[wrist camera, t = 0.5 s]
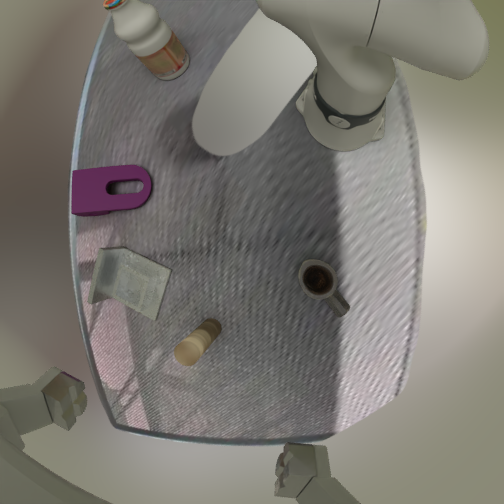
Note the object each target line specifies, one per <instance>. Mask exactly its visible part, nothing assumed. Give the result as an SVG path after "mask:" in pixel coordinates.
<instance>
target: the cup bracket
mask: <svg viewBox="0 0 504 504" xmlns="http://www.w3.org/2000/svg"><path fill="white" fill-rule="evenodd" d="M171 273H172V269H170V268H168V267H166V266H164V265H162V264H159V263H157V262H155V261H153V260H151V259H149V258H147V257H145V256H142V255H140V254H138V253H136V252H134V251H132V250H130V249H128V248H126V247H124V246H123V247H107V248H99V252H98V256H97V260H96V264H95V268H94V273H93V277H92V282H91V286H90V291H89V296H88V301H87V302H89V303H90V304H94V303H97V302H100V301H103V300H106V299H109V298H114V299H116V300H118V301H119V302H121V303H123V304H125V305H126V306H128V307H130V308H132V309H134V310H135V311H137V312H139V313H141V314H143V315H145V316H147V317H148V318H150V319H152V320H154V321H156V320H157V318H158V315H159V312H160V308H161V305H162V302H163V298H164V295H165V292H166V289H167V286H168V282H169V279H170V276H171Z"/></svg>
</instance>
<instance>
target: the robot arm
mask: <svg viewBox="0 0 504 504" xmlns="http://www.w3.org/2000/svg"><path fill="white" fill-rule="evenodd" d="M256 3H257V4H258V6H259V8H260V9H261V11H262V12H263V13H264V14H265V15H266V16H267V17H268V18H270V19H272V20H274V21H276V22H278V23H280V24H281V25H283V26H285V27H286V28H288V29H289V30H291V31H292V32H294V33H295V34H296V35H297V36H298V37H299V38H300V39H302V40H303V41H304V43H305V44H306V45H307V46H308V47H309V48H310V49H311V51H312V52H313V54H314V55H315V57H316V59H317V66H316V67H315V69H314V71H313V75H314V77H313V78H312V79H310V80H309V82H308V85H307V87H306V88H305V90H304V91H303V92H302V94H301V95H300V97H299V98H298V100H297V101H296V108H297V110H298V111H299V112H300V113H301V114H302V115H303V117H304V119H305V123H306V126H307V128H308V130H309V132H310V133H311V135H312V136H313V137H314V138H315V139H316V140H317V141H318V142H319V143H321V144H322V145H324V146H326V147H328V148H330V149H333V150H337V151H352V150H355V149H358V148H360V147H362V146H363V145H365V144H366V143H368V142H370V141H377V140H381V139H382V138H383V136H384V126H385V99H386V95H387V94H388V92H389V90H390V88H391V87H392V85H393V83H394V81H395V75H396V71H395V65H394V62H393V59H392V57H395V58H397V59H399V60H402V61H404V62H407V63H409V64H411V65H414V66H416V67H418V68H420V69H423V70H426V71H429V72H433V73H436V74H439V75H442V76H446V77H450V78H453V79H456V80H463V79H467V78H469V77H471V76H473V75H474V74H476V73H477V72H478V71H479V70H480V69H481V68H482V67H483V65H484V63H485V61H486V59H487V56H488V52H489V37H488V32H487V28H486V26H485V23H484V21H483V19H482V18H481V16H480V14H479V13H478V11H477V9H476V8H475V6H474V4H473V3H472V1H471V0H256ZM391 56H392V57H391ZM303 100H304V101H303ZM379 128H380V130H379ZM84 389H85V385H84V382H82V381H80V380H78V379H77V378H75V377H73V376H71V375H69V374H67V373H66V372H64V371H62V370H60V369H58V368H57V367H51V368H50V369H49V370H48V371H47V372H46V373H45V374H44V375H43V376H41V377H40V378H39V379H38V380H37V381H36V382H35V383H34V384H32V385H30V384H26V385H21V386H15V387H10V388H4V389H0V504H112V503H109V502H107V501H105V500H103V499H101V498H99V497H97V496H95V495H93V494H91V493H89V492H87V491H85V490H83V489H81V488H79V487H78V486H76V485H74V484H72V483H70V482H69V481H67V480H65V479H63V478H62V477H60V476H58V475H57V474H55V473H54V472H52V471H50V470H49V469H47V468H46V467H44V466H43V465H41V464H40V463H38V462H37V461H35V460H34V459H33V458H31V457H30V456H28V455H27V454H26V453H24V452H23V451H22V450H23V449H24V447H25V445H24V442H23V441H22V439H21V437H20V435H23V434H26V433H29V432H31V431H34V430H37V429H39V428H42V427H45V426H47V425H50V424H52V423H55V424H57V425H58V426H60V427H62V428H64V429H66V430H68V431H69V430H70V429H71V428H72V426H73V425H74V424H75V423H76V417H77V416H80V415H82V414H83V412H84V411H85V408H86V406H87V396H86V395H85V393H84V392H83V390H84ZM275 474H276V476H277V477H278V479H277V481H276V482H275V496H280V497H288V498H296V500H297V502H298V503H299V504H361V503H359V502H358V501H357V500H356V499H355V498H354V497H353V496H352V495H351V494H350V493H349V492H348V491H347V490H346V489H345V488H344V487H343V486H342V485H341V484H340V483H339V482H338V480H337V479H335V478H332V477H331V472H330V466H329V459H328V452H327V447H326V446H322V445H312V444H301V443H291V442H287V443H286V444H285V446H284V452H283V453H281V454H280V455H279V457H278V460H277V464H276V472H275Z"/></svg>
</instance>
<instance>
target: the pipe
mask: <svg viewBox="0 0 504 504" xmlns="http://www.w3.org/2000/svg"><path fill="white" fill-rule="evenodd" d="M299 283H300V286H301V288H302V289H303V291H304V292H305V293H306V294H307V295H308V296H309V297H311V298H313V299H325V301H326V302H327V303H328V305H329V306H330V307H331V309H332V310H333V311H334V313H335V314H336V315H337V317H342V316H343V315H345V314H346V313H347V312H348V311H349V309H350V306H349V304H348V303H347V302H346V301H345V299H344V298H343V297H342V296H341V295H340V293H339V292H338V291H337V290H336V287H337V283H338V278H337V275H336V272H335V270H334V269H333V268H332V267H331V266H330V265H329V264H327V263H326V262H323V261H320V260H314V259H309V260H305V261H304V262H303V263H302V265H301V267H300V270H299Z"/></svg>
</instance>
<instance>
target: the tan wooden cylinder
mask: <svg viewBox="0 0 504 504" xmlns="http://www.w3.org/2000/svg"><path fill="white" fill-rule="evenodd" d="M220 332H221V324H220V323H219V322H218V321H217V320H216V319H213V318H210V319H207V320H205V321H204V322H203V323H202V324H201V325H200V326H199V327H198V328H196V329H195V330H194V331H193V332H192V333H191V334H190V335H188V336H187V337H186V338H185V339H184V340H183V341H182V342H181V343H179V344H178V345H177V346H176V347H175V350H174V355H175V358H176V359H177V361H178V362H179V363H181V364H182V365H185V366H191V365H194V364H195V363H196V362H197V360H198V359H199V358H200V357H201V356H202V354H203V353H204V352H205V351H206V350H207V348H208V347H209V346H210V345H211V344H212V342H213V341H214V340H215V339H216V338H217V336H218V335H219V334H220Z"/></svg>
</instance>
